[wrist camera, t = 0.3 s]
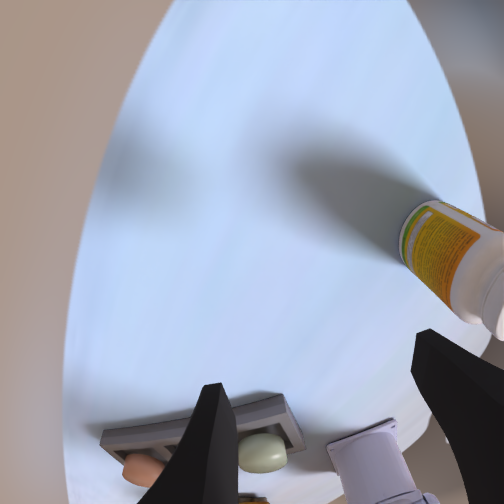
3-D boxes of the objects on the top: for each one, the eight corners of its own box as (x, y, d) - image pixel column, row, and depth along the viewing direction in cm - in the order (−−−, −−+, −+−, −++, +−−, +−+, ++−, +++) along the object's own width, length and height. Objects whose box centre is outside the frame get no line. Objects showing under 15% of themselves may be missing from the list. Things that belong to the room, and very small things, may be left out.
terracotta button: (172, 470, 25) (170, 486, 23) (140, 473, 25) (137, 488, 24) (150, 452, 24) (148, 469, 22) (117, 454, 24) (114, 470, 22)
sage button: (289, 449, 24) (292, 466, 22) (247, 459, 25) (248, 476, 23) (276, 428, 23) (279, 448, 21) (230, 439, 23) (231, 458, 21)
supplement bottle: (398, 280, 21) (476, 369, 12) (392, 208, 19) (495, 278, 10) (455, 259, 21) (539, 328, 12) (455, 191, 18) (559, 243, 9)
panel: (302, 433, 27) (305, 449, 25) (140, 463, 28) (138, 477, 26) (283, 394, 24) (286, 412, 22) (103, 430, 25) (99, 445, 24)
